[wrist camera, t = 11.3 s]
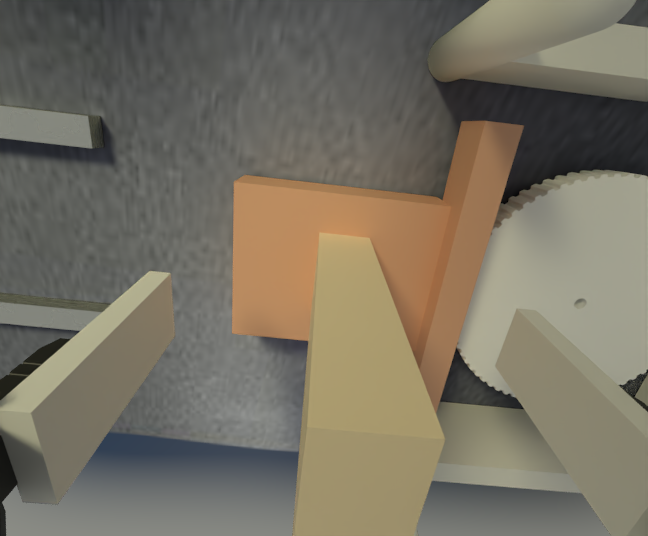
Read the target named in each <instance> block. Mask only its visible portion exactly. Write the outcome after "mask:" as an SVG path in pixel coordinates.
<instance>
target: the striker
mask: <svg viewBox="0 0 648 536" xmlns="http://www.w3.org/2000/svg"><path fill="white" fill-rule="evenodd" d="M523 128H524V125H516V124H508V123H499V122H491V121H462V122H461V126H460V130H459V134H458V138H457V143H456V147H455V151H454V155H453V159H452V163H451V167H450V172H449V176H448V180H447V184H446V188H445V192H444V196H443V201H442V200H441V199H439V198H438V197H434V196H426V195H417V194H408V193H399V192H390V191H382V190H373V189H364V188H355V187H347V186H338V185H329V184H320V183H311V182H303V181H294V180H285V179H276V178H268V177H259V176H250V175H244V176H243V177H241V178H239V179H238V180H236V181H235V182H234V225H233V308H232V334H242V335H253V336H263V337H273V338H283V339H294V340H304V341H308V353H307V365H306V377H305V389H304V401H303V413H302V425H301V437H300V449H299V461H298V473H297V486H296V497H295V509H294V521H293V533H292V536H414V533H415V530H416V527H417V524H418V520H419V517H420V515H421V512H422V509H423V506H424V503H425V500H426V497H427V494H428V490H429V488H430V485H431V481H432V479H433V476H434V473H435V470H436V467H437V464H438V461H439V458H440V455H441V452H442V449H443V446H444V443H445V440H446V439H445V437H444V434H443V432H442V429H441V426H440V424H439V421H438V418H437V416H436V412H437V409H438V405H439V402H440V399H441V395H442V392H443V389H444V386H445V382H446V379H447V376H448V373H449V369H450V366H451V363H452V360H453V356H454V353H455V350H456V346H457V343H458V340H459V337H460V333H461V330H462V327H463V324H464V320H465V317H466V314H467V311H468V307H469V304H470V301H471V297H472V294H473V291H474V288H475V284H476V281H477V278H478V275H479V271H480V268H481V265H482V262H483V258H484V255H485V252H486V248H487V245H488V242H489V239H490V235H491V232H492V229H493V226H494V222H495V219H496V216H497V213H498V209H499V206H500V203H501V199H502V196H503V193H504V190H505V186H506V183H507V180H508V177H509V173H510V170H511V167H512V163H513V160H514V157H515V154H516V150H517V147H518V144H519V141H520V137H521V134H522V131H523Z"/></svg>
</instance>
